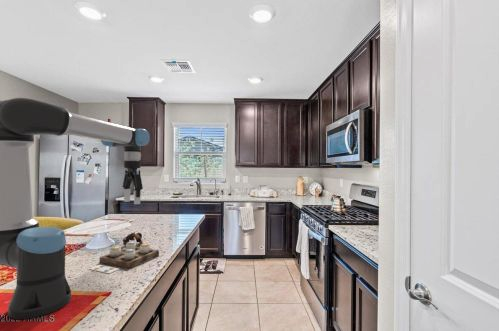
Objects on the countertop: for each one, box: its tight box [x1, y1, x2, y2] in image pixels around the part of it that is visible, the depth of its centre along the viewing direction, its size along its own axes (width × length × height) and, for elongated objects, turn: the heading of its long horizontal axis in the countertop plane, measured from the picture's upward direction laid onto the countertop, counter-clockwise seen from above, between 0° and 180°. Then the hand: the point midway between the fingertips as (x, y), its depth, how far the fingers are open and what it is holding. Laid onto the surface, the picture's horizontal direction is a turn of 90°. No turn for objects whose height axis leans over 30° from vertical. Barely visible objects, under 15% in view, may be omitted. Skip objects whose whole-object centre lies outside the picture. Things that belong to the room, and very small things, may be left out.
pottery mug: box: [122, 232, 144, 247], centre depth 141 cm, size 12×10×8 cm
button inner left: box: [109, 245, 122, 257], centre depth 117 cm, size 4×4×4 cm
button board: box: [99, 246, 160, 269], centre depth 119 cm, size 18×18×2 cm
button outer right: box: [139, 243, 151, 254], centre depth 122 cm, size 4×4×4 cm
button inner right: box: [124, 249, 135, 260], centre depth 114 cm, size 4×4×4 cm
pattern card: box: [88, 264, 120, 275], centre depth 107 cm, size 5×12×1 cm, turn 67°
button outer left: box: [125, 240, 137, 250], centre depth 125 cm, size 4×4×4 cm
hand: (131, 202), depth 127 cm, fingers open, 13 cm apart
